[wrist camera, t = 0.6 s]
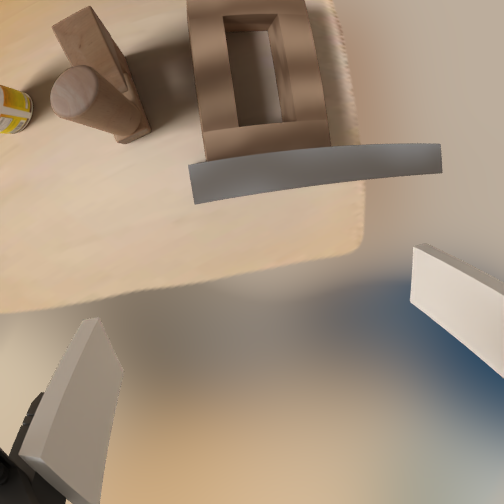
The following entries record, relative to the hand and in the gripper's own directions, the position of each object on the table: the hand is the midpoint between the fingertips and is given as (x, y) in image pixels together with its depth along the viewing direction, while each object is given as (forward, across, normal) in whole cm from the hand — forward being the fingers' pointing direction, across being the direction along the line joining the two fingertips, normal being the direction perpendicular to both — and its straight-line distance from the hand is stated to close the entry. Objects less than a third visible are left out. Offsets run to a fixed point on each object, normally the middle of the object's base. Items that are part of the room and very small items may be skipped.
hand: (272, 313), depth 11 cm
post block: (+26, +6, +15) cm, 30 cm away
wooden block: (+26, -9, +15) cm, 31 cm away
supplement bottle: (+26, -24, +18) cm, 40 cm away
